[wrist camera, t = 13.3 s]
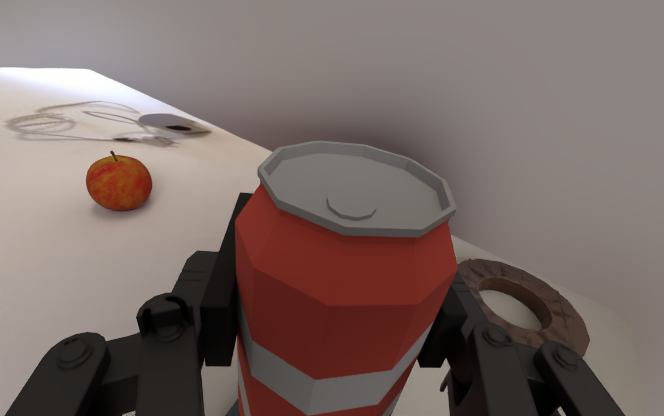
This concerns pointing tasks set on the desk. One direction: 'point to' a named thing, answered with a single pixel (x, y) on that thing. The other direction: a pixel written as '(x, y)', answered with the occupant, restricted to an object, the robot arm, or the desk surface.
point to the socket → (527, 304)
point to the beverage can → (338, 279)
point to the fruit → (119, 182)
